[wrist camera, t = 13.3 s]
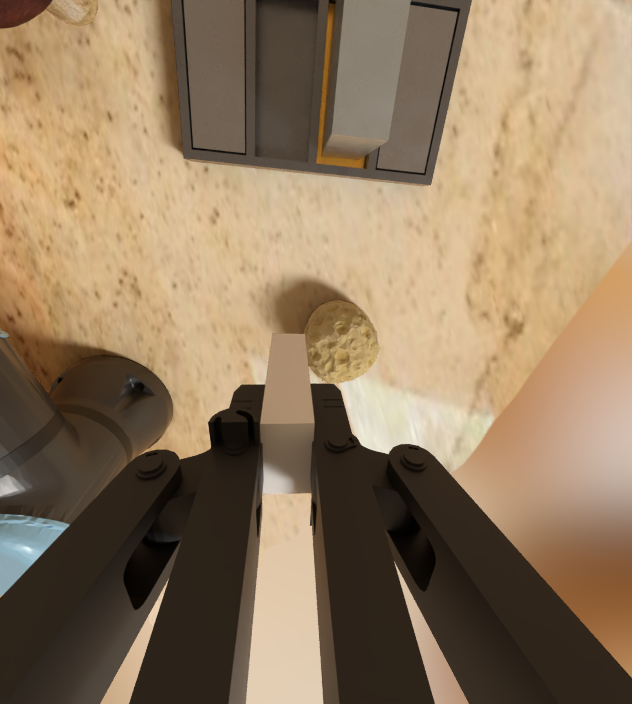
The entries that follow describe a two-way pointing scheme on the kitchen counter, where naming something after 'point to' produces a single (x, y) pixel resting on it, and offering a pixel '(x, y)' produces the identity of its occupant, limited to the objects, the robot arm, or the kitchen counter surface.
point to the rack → (305, 86)
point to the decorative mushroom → (65, 3)
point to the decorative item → (340, 342)
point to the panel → (363, 75)
